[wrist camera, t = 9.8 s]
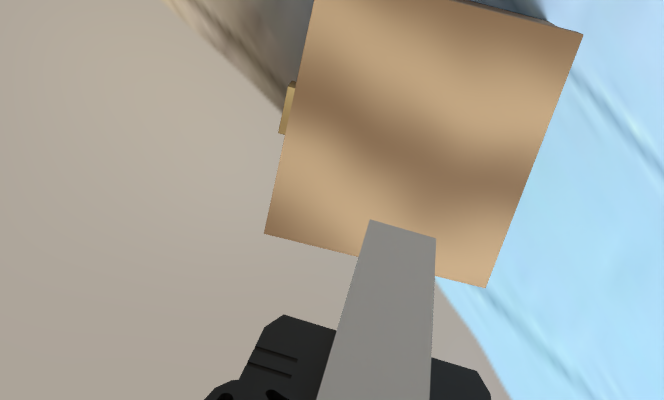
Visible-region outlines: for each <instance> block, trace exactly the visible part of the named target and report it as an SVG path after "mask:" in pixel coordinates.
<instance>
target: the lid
mask: <svg viewBox="0 0 664 400" xmlns="http://www.w3.org/2000/svg"><path fill="white" fill-rule="evenodd" d="M582 37H583V34H581V33H578V32H575V31H571V30H568V29H564V28H560V27H556V26H552V25H548V24H544V23H540V22H536V21H532V20H529V19H525V18H521V17H517V16H513V15H509V14H505V13H501V12H497V11H493V10H490V9H486V8H482V7H478V6H474V5H470V4H466V3H462V2H458V1H454V0H314V3H313V8H312V13H311V17H310V22H309V27H308V31H307V36H306V41H305V45H304V50H303V54H302V59H301V64H300V68H299V73H298V78H297V82H295V81H291V83H290V84H289V86H288V89H287V94H286V98H285V103H284V108H283V113H282V117H281V122H280V127H279V132H278V133H280V134H284V135H285V138H284V143H283V147H282V153H281V157H280V162H279V166H278V171H277V176H276V180H275V185H274V189H273V194H272V199H271V203H270V208H269V212H268V217H267V222H266V226H265V231H264V234H268V235H272V236H276V237H280V238H284V239H288V240H292V241H296V242H300V243H304V244H308V245H312V246H317V247H320V248H324V249H329V250H332V251H337V252H341V253H345V254H349V255H353V256H357V257H359V254H360V250H361V247H362V244H363V240H364V237H365V234H366V230H367V227H368V223H369V220H370V219H371V220H374V221H378V222H381V223H385V224H388V225H392V226H395V227H399V228H402V229H406V230H409V231H412V232H416V233H419V234H423V235H426V236H430V237H433V238H436V257H435V276H438V277H442V278H446V279H450V280H454V281H458V282H462V283H466V284H470V285H474V286H478V287H482V288H486V285H487V283H488V280H489V277H490V275H491V272H492V270H493V267H494V265H495V262H496V259H497V257H498V254H499V252H500V249H501V247H502V244H503V241H504V239H505V236H506V234H507V231H508V228H509V226H510V223H511V221H512V218H513V216H514V213H515V210H516V208H517V205H518V203H519V200H520V197H521V195H522V192H523V190H524V187H525V185H526V182H527V179H528V177H529V174H530V172H531V169H532V166H533V164H534V161H535V159H536V156H537V154H538V151H539V148H540V146H541V143H542V141H543V138H544V136H545V133H546V130H547V128H548V125H549V123H550V120H551V117H552V115H553V112H554V110H555V107H556V105H557V102H558V99H559V97H560V94H561V92H562V89H563V86H564V84H565V81H566V79H567V76H568V74H569V71H570V68H571V66H572V63H573V61H574V58H575V56H576V53H577V50H578V48H579V45H580V43H581V40H582Z"/></svg>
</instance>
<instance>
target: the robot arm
mask: <svg viewBox="0 0 664 400" xmlns="http://www.w3.org/2000/svg"><path fill="white" fill-rule="evenodd" d="M435 257H436V238H433V237H430V236H426V235H423V234H419V233H416V232H412V231H409V230H406V229H402V228H399V227H395V226H392V225H388V224H385V223H381V222H378V221H374V220H371V219H370V220H369V223H368V227H367V230H366V234H365V237H364V240H363V244H362V247H361V250H360V254H359V257H358V261H357V264H356V267H355V271H354V274H353V278H352V281H351V284H350V288H349V291H348V294H347V298H346V301H345V305H344V308H343V311H342V315H341V318H340V322H339V325H338V328H337V331H336V330H333V329H329V328H326V327H323V326H320V325H316V324H313V323H310V322H307V321H303V320H300V319H296V318H293V317H290V316H287V315H282V316H281V317H279V318H278V319H276V320H275V321H273V322H272V323H270V324H269V325H267V326H266V327H264V330H263V332H262V334H261V336H260V338H259V340H258V342H257V344H256V346H255V349H254V350H253V352H252V354H251V356H250V358H249V360H248V363H247V365H246V366H245V368H244V370H243V372H242V374H241V376H240V378H239V380H232V381H230V382H227V383H225V384H223V385H221V386H218V387H216V388H215V389H214V390H213V391H212V392H211V393H210V394H209V395H208V396H207V397H206V398H205V399H204V400H491V396H490V392H489V391H488V389H487V387H486V386H485V384H484V383H483V381H482V379H481V377H480V376H479V374H478V373H477V371H475V370H471V369H468V368H465V367H461V366H458V365H455V364H451V363H448V362H445V361H441V360H438V359H435V358H432V357H431V351H432V326H433V304H434V281H435Z"/></svg>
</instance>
